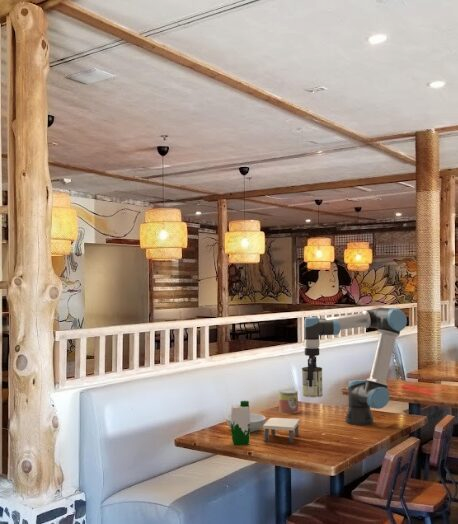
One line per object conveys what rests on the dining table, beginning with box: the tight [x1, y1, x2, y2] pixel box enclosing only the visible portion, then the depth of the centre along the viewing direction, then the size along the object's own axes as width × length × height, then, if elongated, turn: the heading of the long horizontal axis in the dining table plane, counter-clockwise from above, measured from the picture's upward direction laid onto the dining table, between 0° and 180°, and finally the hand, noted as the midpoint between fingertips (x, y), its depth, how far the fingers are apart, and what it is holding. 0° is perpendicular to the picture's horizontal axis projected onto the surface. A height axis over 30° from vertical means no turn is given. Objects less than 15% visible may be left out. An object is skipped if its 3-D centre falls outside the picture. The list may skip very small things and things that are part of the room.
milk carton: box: [230, 400, 251, 446], centre depth 293 cm, size 9×9×20 cm
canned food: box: [278, 389, 299, 414], centre depth 365 cm, size 11×11×12 cm
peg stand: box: [262, 417, 301, 445], centre depth 301 cm, size 15×18×8 cm
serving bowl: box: [225, 413, 267, 433], centre depth 319 cm, size 21×21×7 cm
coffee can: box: [301, 366, 323, 398], centre depth 311 cm, size 10×10×14 cm
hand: (312, 391), depth 311 cm, fingers closed on coffee can, 10 cm apart
